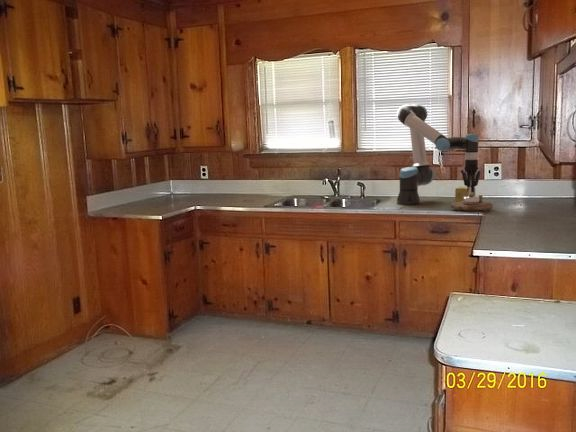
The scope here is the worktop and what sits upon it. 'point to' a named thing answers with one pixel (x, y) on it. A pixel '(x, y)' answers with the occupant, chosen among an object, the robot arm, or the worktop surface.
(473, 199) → the cover
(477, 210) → the turntable base
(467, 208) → the turntable
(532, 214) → the worktop surface
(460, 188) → the cheese
